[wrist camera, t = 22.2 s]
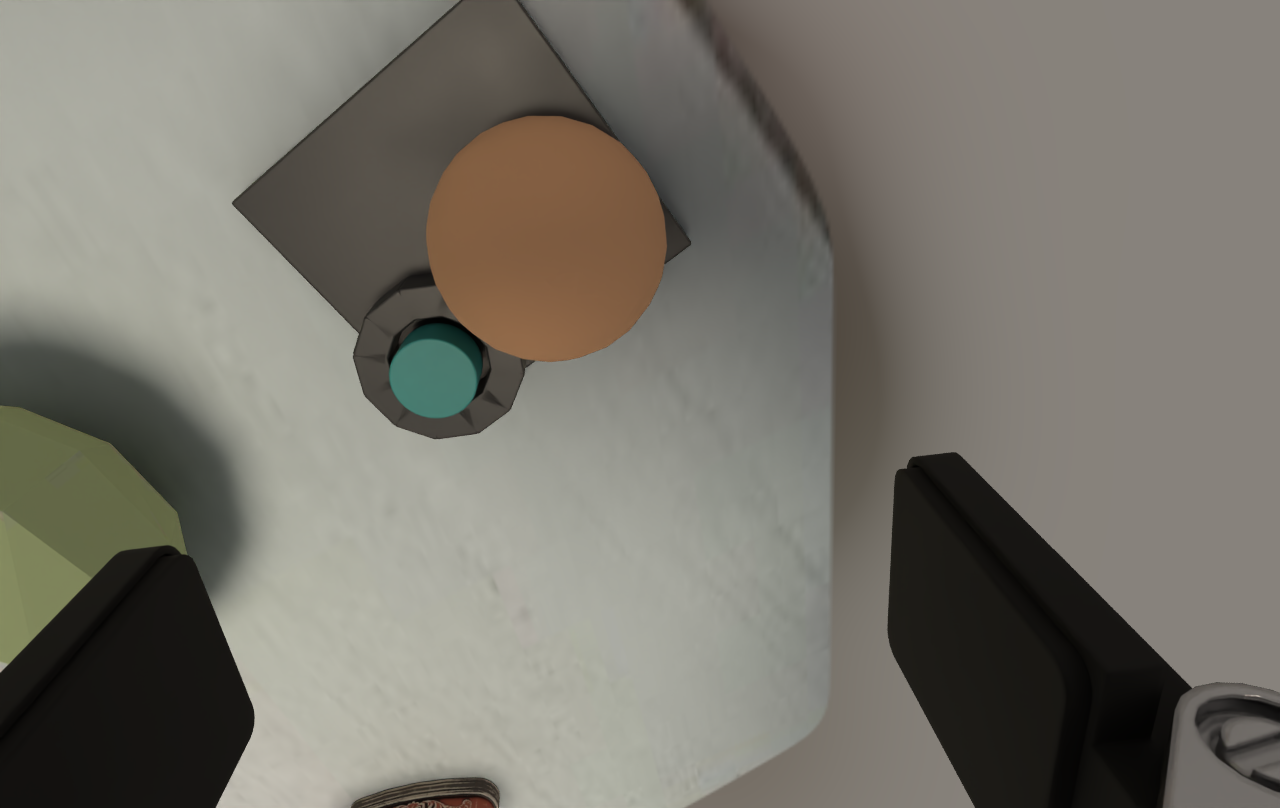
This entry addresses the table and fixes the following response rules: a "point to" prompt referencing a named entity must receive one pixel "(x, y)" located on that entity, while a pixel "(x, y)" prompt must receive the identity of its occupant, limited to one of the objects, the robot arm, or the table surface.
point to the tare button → (436, 370)
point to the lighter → (436, 795)
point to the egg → (546, 238)
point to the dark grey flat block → (413, 190)
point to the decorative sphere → (64, 519)
